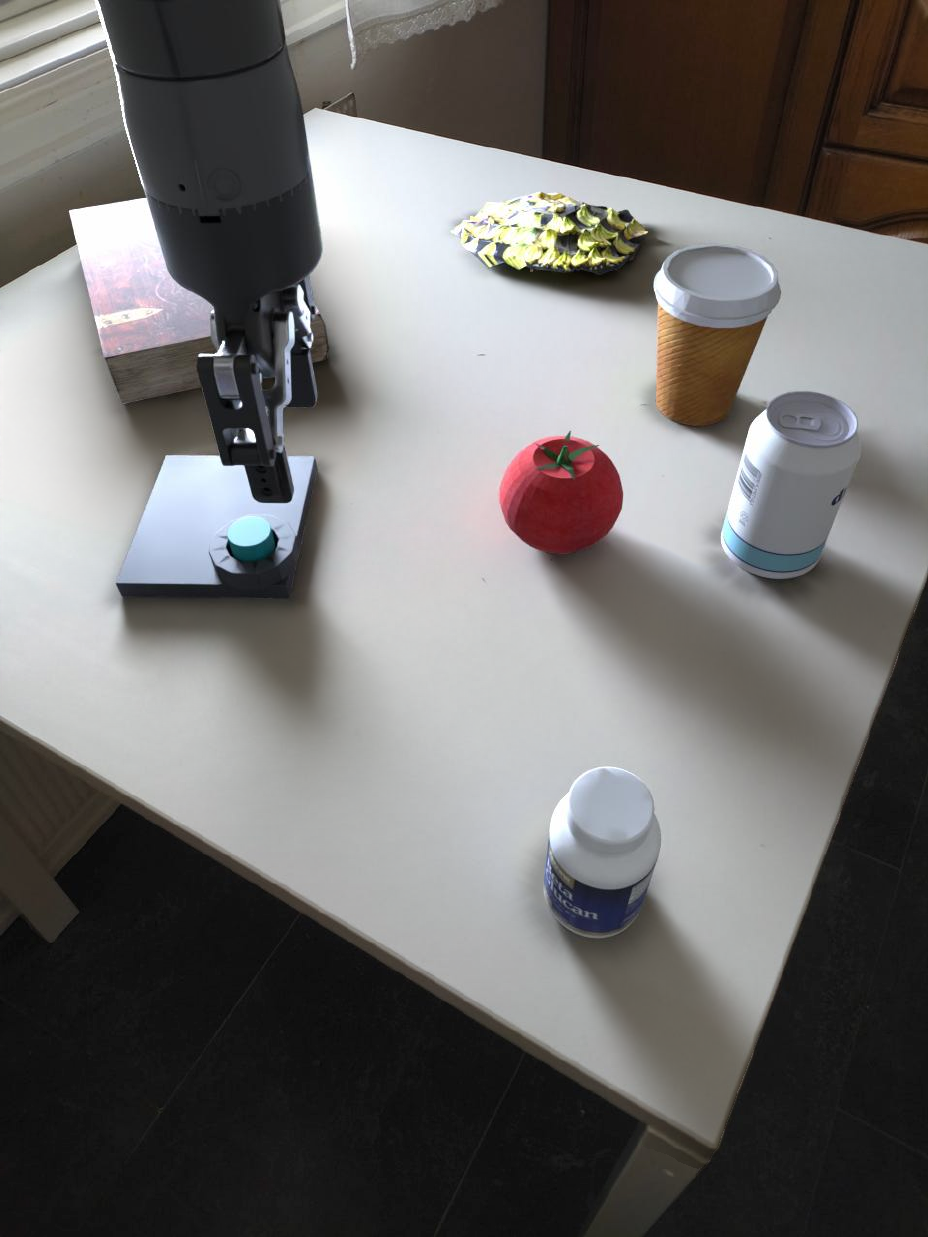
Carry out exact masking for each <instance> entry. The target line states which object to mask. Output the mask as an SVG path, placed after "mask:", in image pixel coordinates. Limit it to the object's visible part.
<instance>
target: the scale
mask: <svg viewBox="0 0 928 1237" xmlns="http://www.w3.org/2000/svg"><path fill="white" fill-rule="evenodd" d="M287 458H288V463H289V467H290V471H291V476H292V480H293V485H294V493H293V497H292V500H291V501H290V502H289V503H260V502H257V501H256V500H255V499H254V498H253V496H252V493H251V489H250V485H249V482H248V478H247V474H246V471H245V467H244V465H234V466H223V464H222V462H221V459H220V455H190V454H189V455H188V454H187V455H185V454H183V455H177V454H175V455H172V454H171V455H170V454H169V455H165V457H164V460H163V462H162V464H161V467H160V469H159V472H158V475H157V477H156V480H155V483H154V486H153V487H152V490H151V492H150V495H149V498H148V500H147V503H146V505H145V508H144V509H143V512H142V515H141V518H140V521H139V523H138V525H137V528H136V530H135V533H134V535H133V538H132V541H131V543H130V546H129V548H128V550H127V551H128V552H127V554H126V556H125V559H124V561H123V563H122V566H121V569H120V571H119V574H118V576H117V579H116V581H115V585H116V588H117V591H118V592H119V594H120V596H121V597H122V598H193V599H195V598H198V599H199V598H200V599H205V598H206V599H214V598H215V599H265V600H266V599H267V600H269V599H274V600H275V599H276V600H279V599H280V600H281V599H282V600H290V598H291V593H292V588H293V584H294V579H295V575H296V570H297V567H298V566H297V565H298V561H299V557H300V552H301V547H302V544H303V538H304V533H305V529H306V525H307V520H308V515H309V511H310V507H311V501H312V498H313V492H314V489H315V484H316V479H317V474H318V470H319V468H318V464H317V458H316V456H315V455H313V456H312V455H307V456H305V455H287ZM246 517H260V518H263V519H265V520H266V521H267V522H268V523H269V524H270V526H271V529H272V533H273V537H274V541H275V548H274V550H273V552H272V553H271V554H270V555H269V556H268V557H266V558H264V559H261V560H258V561H256V562H243V561H240V560H238V559H237V558H235V556H234V555H233V553H232V550H231V547H230V544H229V540H228V537H227V533H228V530H229V528H230V526H231V525H232V524H233V523H235V522H236V521H238V520H240V519H242V518H246Z"/></svg>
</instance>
